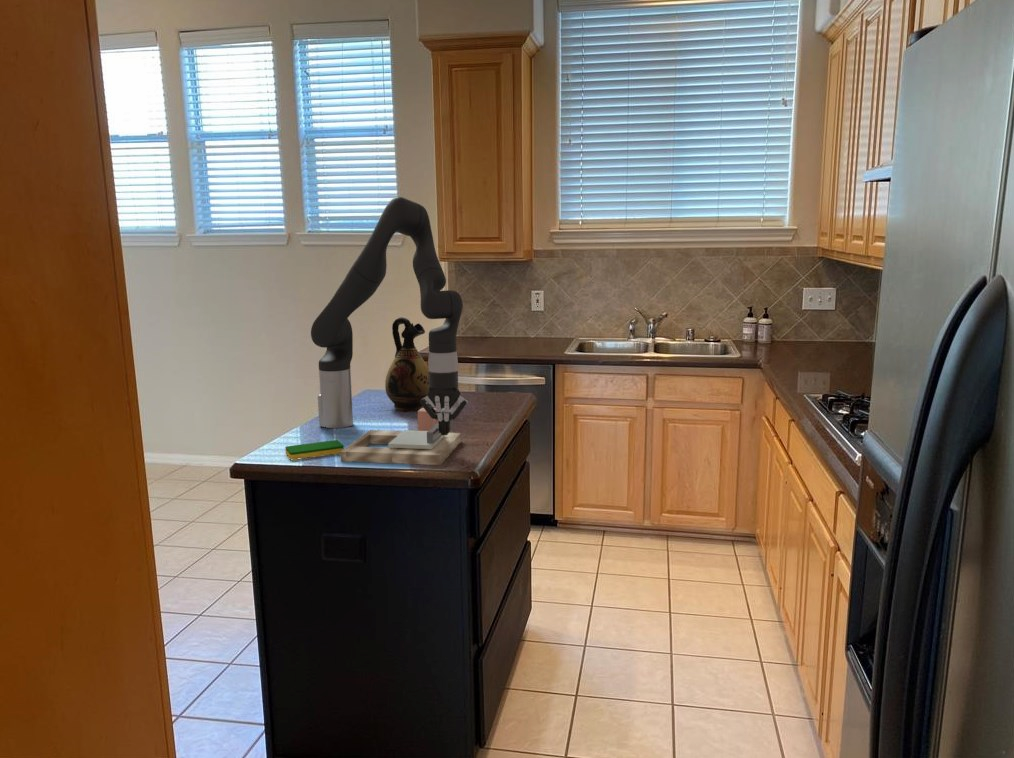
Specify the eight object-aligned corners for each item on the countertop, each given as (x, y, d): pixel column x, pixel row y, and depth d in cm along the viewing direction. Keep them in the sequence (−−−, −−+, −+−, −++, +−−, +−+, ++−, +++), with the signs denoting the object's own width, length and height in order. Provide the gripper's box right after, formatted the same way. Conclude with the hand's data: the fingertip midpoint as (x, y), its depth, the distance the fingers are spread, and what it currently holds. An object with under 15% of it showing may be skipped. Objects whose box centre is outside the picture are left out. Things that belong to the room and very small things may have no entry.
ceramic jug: (442, 406, 251) (439, 317, 246) (412, 415, 238) (409, 321, 233) (403, 401, 260) (400, 314, 255) (372, 409, 247) (368, 319, 242)
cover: (388, 447, 190) (387, 433, 190) (404, 433, 204) (404, 420, 203) (431, 449, 188) (431, 434, 188) (445, 435, 202) (445, 421, 201)
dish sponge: (344, 454, 196) (344, 445, 196) (291, 462, 190) (290, 452, 190) (337, 448, 202) (337, 439, 202) (285, 455, 196) (284, 446, 196)
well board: (340, 461, 189) (340, 451, 188) (370, 438, 210) (370, 430, 210) (440, 465, 184) (440, 455, 184) (461, 441, 206) (460, 433, 205)
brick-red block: (418, 435, 214) (417, 411, 212) (422, 431, 218) (422, 407, 217) (433, 435, 213) (432, 411, 212) (437, 431, 217) (437, 408, 216)
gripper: (414, 370, 189) (416, 437, 192) (465, 372, 187) (466, 439, 190) (422, 366, 196) (424, 430, 199) (471, 367, 194) (472, 431, 197)
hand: (444, 434), depth 195 cm, fingers closed
